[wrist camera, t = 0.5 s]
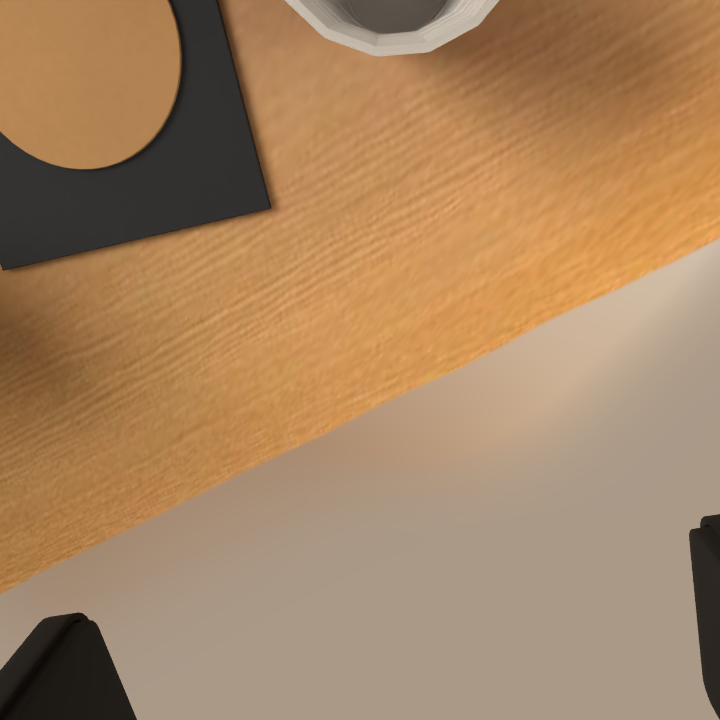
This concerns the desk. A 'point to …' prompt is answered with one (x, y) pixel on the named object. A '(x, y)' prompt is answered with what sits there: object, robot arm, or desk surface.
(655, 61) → the desk surface
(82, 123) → the desk mat
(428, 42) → the plastic cup
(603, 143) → the desk surface
